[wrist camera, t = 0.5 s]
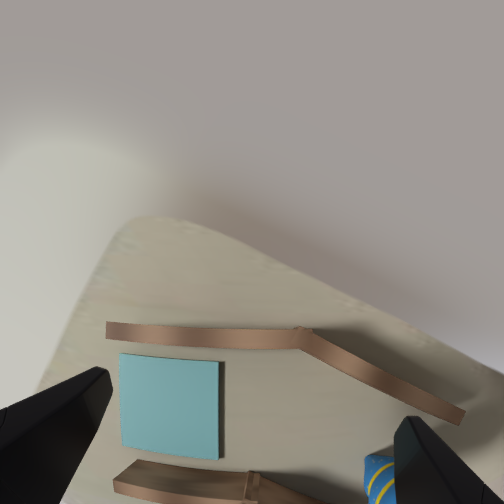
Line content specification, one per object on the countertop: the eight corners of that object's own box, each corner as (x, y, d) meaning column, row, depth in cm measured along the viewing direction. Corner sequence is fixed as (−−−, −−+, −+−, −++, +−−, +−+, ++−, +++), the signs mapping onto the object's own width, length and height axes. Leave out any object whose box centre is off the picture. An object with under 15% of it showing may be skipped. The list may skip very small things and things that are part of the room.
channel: (456, 455, 19) (484, 470, 14) (214, 568, 17) (205, 597, 12) (339, 219, 26) (353, 194, 21) (80, 352, 24) (46, 352, 19)
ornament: (347, 430, 21) (431, 522, 7) (403, 429, 21) (516, 493, 6) (335, 483, 20) (390, 596, 5) (390, 480, 19) (476, 568, 5)
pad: (219, 361, 23) (218, 361, 23) (219, 458, 21) (218, 459, 21) (121, 353, 24) (119, 353, 23) (124, 444, 21) (122, 445, 21)
